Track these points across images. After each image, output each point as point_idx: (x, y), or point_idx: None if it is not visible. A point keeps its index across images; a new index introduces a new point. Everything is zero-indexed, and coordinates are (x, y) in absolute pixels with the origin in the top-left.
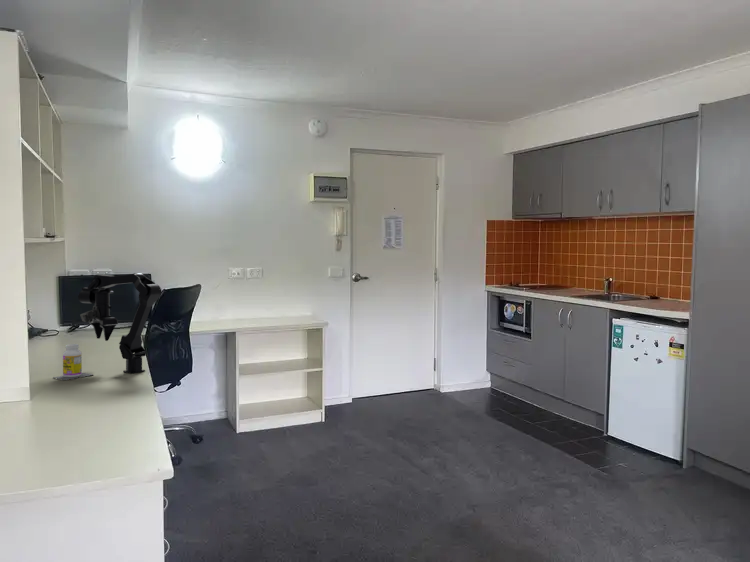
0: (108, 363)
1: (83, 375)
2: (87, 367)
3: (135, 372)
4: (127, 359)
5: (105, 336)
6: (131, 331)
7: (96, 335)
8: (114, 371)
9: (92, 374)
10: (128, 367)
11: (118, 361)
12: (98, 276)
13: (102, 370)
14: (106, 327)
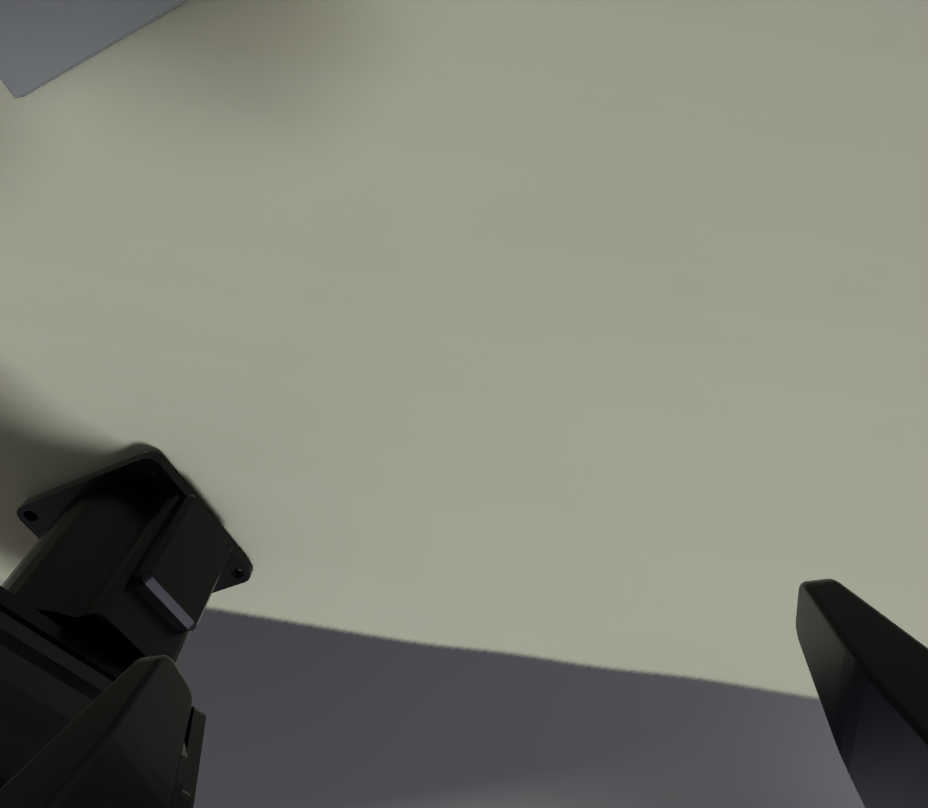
0: (883, 425)
1: None
2: (788, 126)
3: (42, 534)
4: (18, 594)
5: (18, 780)
6: None
7: (883, 649)
8: (255, 384)
9: (27, 87)
10: (58, 525)
11: (924, 534)
12: None
13: (398, 276)
14: None
